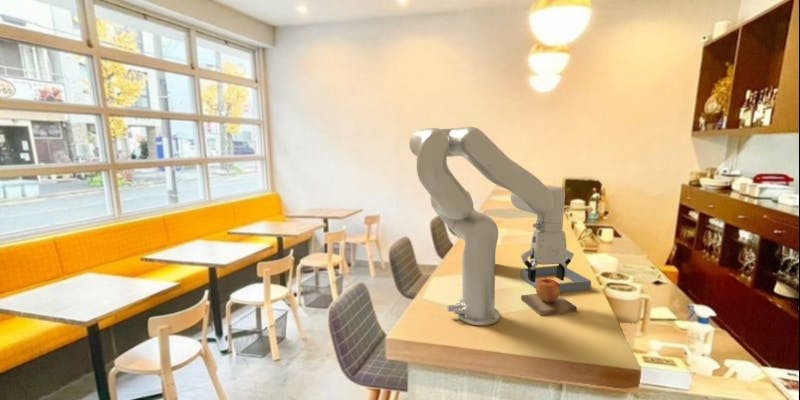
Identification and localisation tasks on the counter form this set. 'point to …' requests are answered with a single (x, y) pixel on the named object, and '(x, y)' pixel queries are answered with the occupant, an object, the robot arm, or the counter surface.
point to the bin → (576, 286)
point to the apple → (548, 289)
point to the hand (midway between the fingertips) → (545, 279)
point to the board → (548, 305)
